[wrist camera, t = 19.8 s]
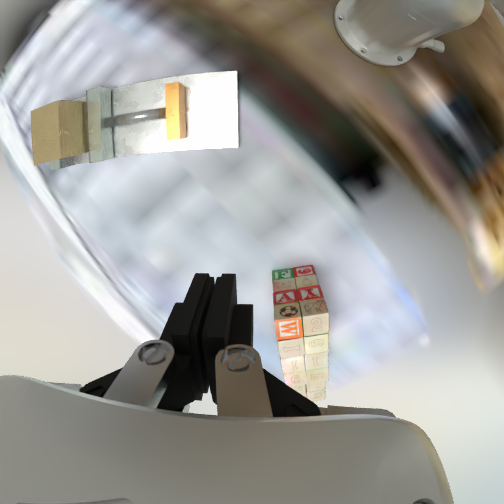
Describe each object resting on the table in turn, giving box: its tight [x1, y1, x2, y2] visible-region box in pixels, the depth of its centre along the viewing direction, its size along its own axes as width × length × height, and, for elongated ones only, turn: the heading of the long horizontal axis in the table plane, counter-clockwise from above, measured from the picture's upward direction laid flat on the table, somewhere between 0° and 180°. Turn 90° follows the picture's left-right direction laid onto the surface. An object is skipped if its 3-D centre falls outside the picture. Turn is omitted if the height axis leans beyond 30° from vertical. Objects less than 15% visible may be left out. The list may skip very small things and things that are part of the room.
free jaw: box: [86, 82, 186, 163], centre depth 30 cm, size 13×10×3 cm
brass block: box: [31, 100, 88, 165], centre depth 28 cm, size 5×7×9 cm
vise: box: [47, 71, 239, 170], centre depth 31 cm, size 27×10×4 cm, turn 91°
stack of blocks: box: [272, 265, 329, 401], centre depth 40 cm, size 21×6×12 cm, turn 10°
